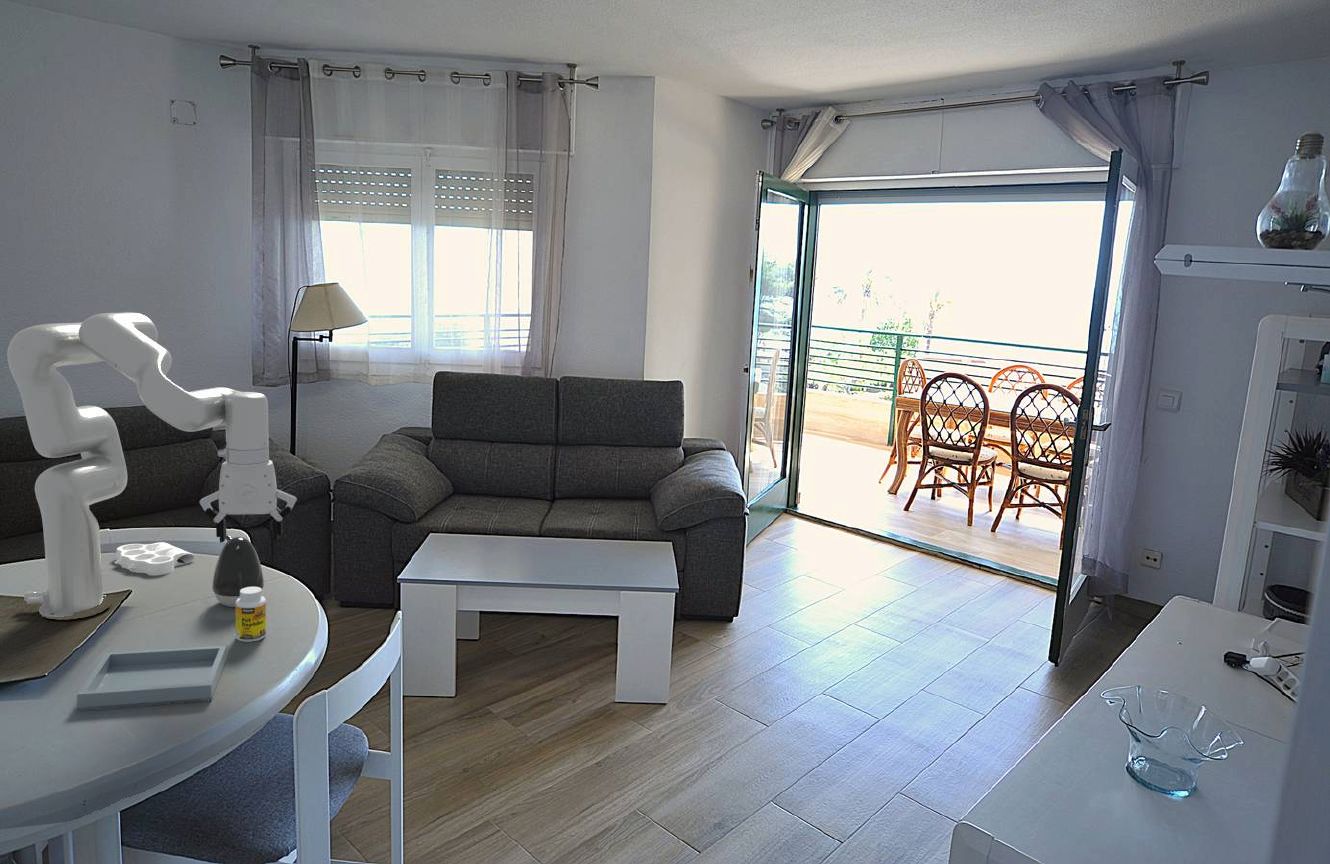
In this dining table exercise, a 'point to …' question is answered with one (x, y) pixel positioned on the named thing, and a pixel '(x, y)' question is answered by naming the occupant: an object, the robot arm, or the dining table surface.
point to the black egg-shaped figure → (236, 570)
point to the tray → (153, 678)
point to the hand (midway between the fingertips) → (249, 539)
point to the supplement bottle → (250, 615)
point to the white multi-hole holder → (152, 558)
